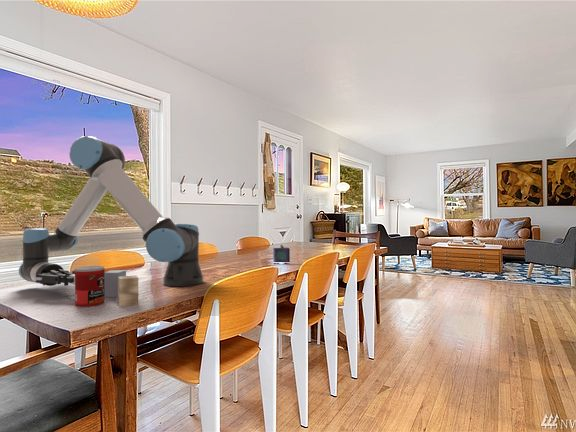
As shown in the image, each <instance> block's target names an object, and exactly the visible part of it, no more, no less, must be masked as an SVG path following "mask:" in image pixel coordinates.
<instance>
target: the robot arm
mask: <svg viewBox="0 0 576 432" xmlns="http://www.w3.org/2000/svg"><path fill="white" fill-rule="evenodd" d="M69 150H70V151H69V152H68V153H69V159H70V162H71V163H72V165H73V166H74V167H76V168H78V169H79V170H84V171H85V172H86V174H87V175H88V176H89V178H88V180H87V182H86V183H85V185H84V186H83V188H82V190H80V192H79V194H78V196H77V197H76V198H75V200H74V201H73V203H72V205H71V206H70V208H69V209H68V211H67V212H66V214H64V217H63V218H62V220H61V221H60V223H59V224H58V226H57V228H56V229H55V230H54V232H49V229H47V228H41V227H40V228H39V227H38V228H37V227H36V228H26V229H24V230H23V235H22V257H23V258H22V263H21V265H20V266H19V267H18V274H19V276H20V278H22V279H23V280H25V281H27V282H30V283H36V284H41V285H42V286H47V287H52V286H56V285H61V284H63V285H64V286H69V285H70V284H71V285H74V286H75V269H74V270H71V271H69V270H65V269H64V268H63V266H62V265H60V264H57V263H52V262H49V257H50V256H49V253H56V252H64V251H69V250H72V249H74V248H76V246H77V245H78V235H79V233H80V231H81V230H82V229H83V227H84V225H85V224H86V223H87V221H88V220H89V218H90V217H91V215H92V214H93V213H94V211H95V209H96V208H97V207H98V205H99V203H100V202H101V200H102V199H103V197H104V196H105V195H106V193H107V192H108V193H109V194H110V195H111V196H112V197H113V199H114V200H115V201H116V202H117V203H118V204H119V206H120V207H121V208H122V209H123V210H124V212H125V213H126V214H127V215H128V217H130V219H131V220H132V221H133V222H134V224H135V225H136V226H137V227H138V228H139V230H140V231H141V232H142V234H141V238H142V241H144V242H145V249H146V252H147V254H148V255H149V256H150V258H152V259H153V260H155V261H157V262H161V263H167V266H166V269H165V273H164V275H163V279H162V280H163V281H162V284H163V285H164V286H166V287H167V286H168V287H189V286H196V285H200V284H202V283H203V282H204V276H203V271H202V269H201V266H200V262H199V259H200V258H199V254H200V253H199V245H200V244H199V243H200V241H199V239H200V238H199V236H200V232H199V227H198V226H197V225H195V224H192V223H191V224H188V223H175V222H174V221H172V218H170V217H165V216H163V215H162V214H161V213H160V212H159V211H158V209H157V208H156V207H155V205H153V203H152V202H151V201H150V200H149V199H148V197H147V196H146V195H145V194H144V193H143V192H142V191H141V190H142V189H140V188H139V187H138V186H137V184H136V183H135V182H134V181H133V180H132V178H131V177H130V175H128V174H127V172H125V170H124V169H125V165H126V158H125V154H124V152H123V151H122V150H121V148H120V147H118V146H117V145H115V144H113V143H109V142H106V141H104V140H101V139H99V138H98V137H96V136H88V135H86V136H85V135H84V136H80V137H79V138H77V139H75V141H74V142H73V143H72V144H71V146H70V149H69Z"/></svg>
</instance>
